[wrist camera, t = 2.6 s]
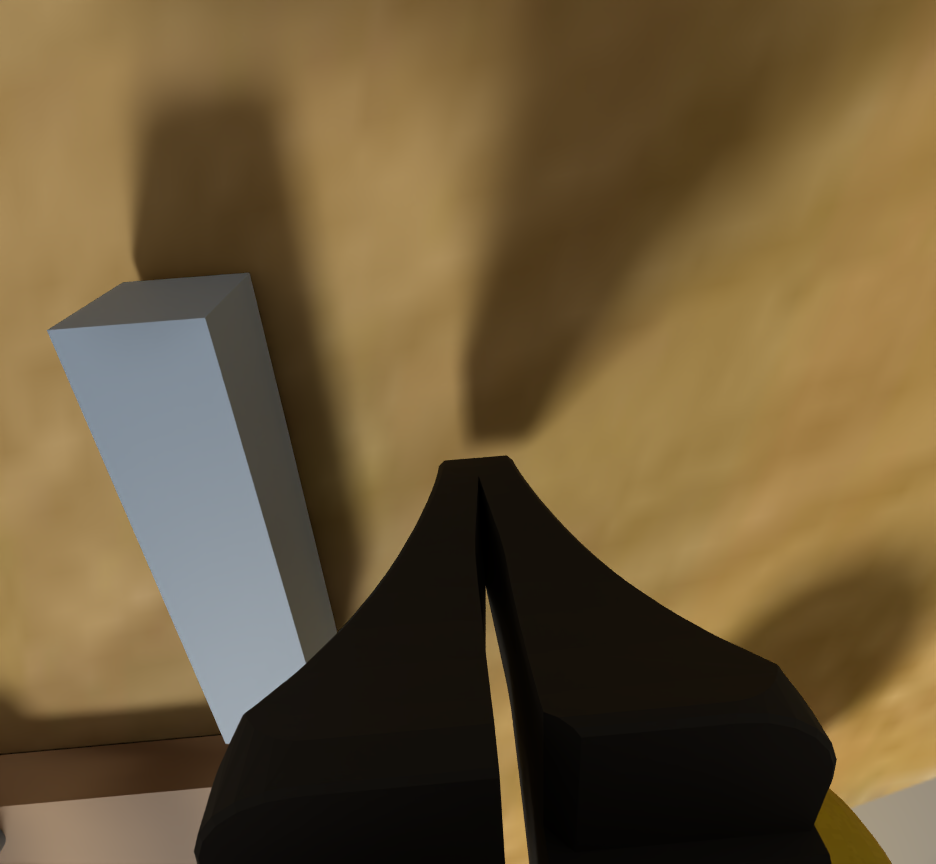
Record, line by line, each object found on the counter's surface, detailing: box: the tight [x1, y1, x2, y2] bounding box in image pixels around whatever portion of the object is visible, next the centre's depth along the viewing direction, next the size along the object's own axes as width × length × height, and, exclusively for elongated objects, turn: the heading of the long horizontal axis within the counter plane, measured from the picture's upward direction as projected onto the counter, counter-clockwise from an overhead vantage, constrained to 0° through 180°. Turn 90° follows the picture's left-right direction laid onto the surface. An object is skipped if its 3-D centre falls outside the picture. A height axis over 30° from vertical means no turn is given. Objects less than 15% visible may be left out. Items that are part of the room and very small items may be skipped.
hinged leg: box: [47, 273, 337, 744], centre depth 12 cm, size 11×2×2 cm, turn 4°
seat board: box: [0, 735, 229, 864], centre depth 17 cm, size 12×7×3 cm, turn 94°
